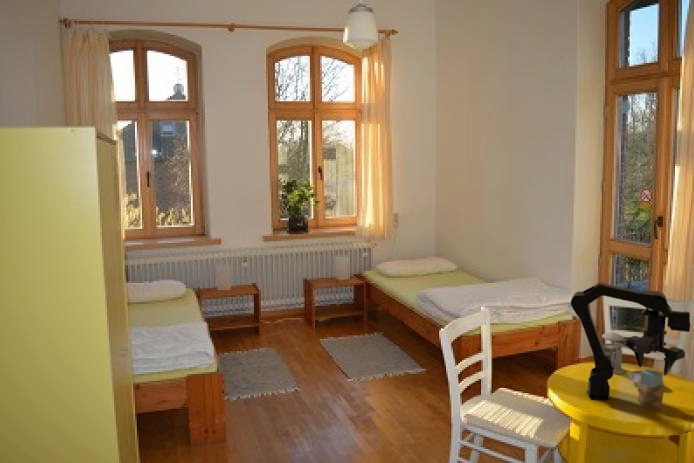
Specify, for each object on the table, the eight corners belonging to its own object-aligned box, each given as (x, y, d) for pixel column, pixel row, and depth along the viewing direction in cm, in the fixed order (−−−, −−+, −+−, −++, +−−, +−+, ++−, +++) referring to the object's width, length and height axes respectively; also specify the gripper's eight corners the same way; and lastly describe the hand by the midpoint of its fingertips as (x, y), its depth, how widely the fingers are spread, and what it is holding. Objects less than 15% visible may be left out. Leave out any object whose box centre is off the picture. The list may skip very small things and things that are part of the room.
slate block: (640, 382, 220) (641, 372, 220) (648, 379, 223) (649, 368, 223) (654, 387, 216) (654, 376, 216) (662, 384, 219) (662, 373, 218)
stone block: (639, 395, 234) (666, 390, 233) (637, 383, 233) (664, 377, 233) (626, 383, 245) (651, 378, 245) (624, 372, 245) (649, 367, 244)
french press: (617, 364, 259) (621, 306, 255) (630, 375, 247) (634, 314, 243) (593, 364, 259) (597, 306, 255) (605, 375, 247) (609, 314, 243)
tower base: (643, 408, 218) (644, 397, 218) (638, 400, 224) (638, 390, 224) (661, 409, 218) (662, 398, 217) (655, 401, 223) (656, 391, 223)
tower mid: (645, 397, 217) (646, 387, 217) (637, 390, 223) (638, 380, 223) (663, 397, 217) (663, 386, 217) (654, 390, 223) (655, 380, 223)
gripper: (617, 325, 220) (614, 367, 222) (668, 339, 204) (665, 385, 207) (635, 320, 226) (633, 361, 228) (687, 333, 210) (683, 377, 213)
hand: (652, 371), depth 219 cm, fingers open, 9 cm apart
